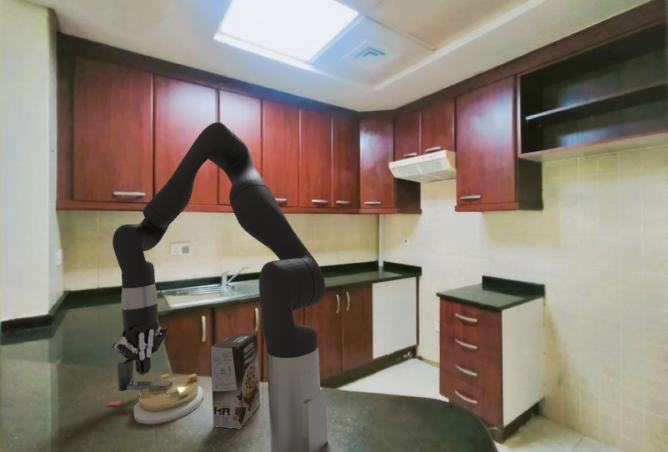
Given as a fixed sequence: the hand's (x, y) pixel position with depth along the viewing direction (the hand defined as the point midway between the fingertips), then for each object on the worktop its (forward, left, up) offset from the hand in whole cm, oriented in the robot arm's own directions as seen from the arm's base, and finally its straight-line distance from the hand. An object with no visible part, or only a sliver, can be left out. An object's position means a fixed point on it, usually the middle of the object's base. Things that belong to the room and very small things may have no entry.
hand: (143, 373), depth 77 cm
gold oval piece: (-8, +2, -3) cm, 9 cm away
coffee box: (-29, -2, -6) cm, 30 cm away
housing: (-11, +1, -5) cm, 13 cm away
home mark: (+2, +6, -5) cm, 8 cm away
